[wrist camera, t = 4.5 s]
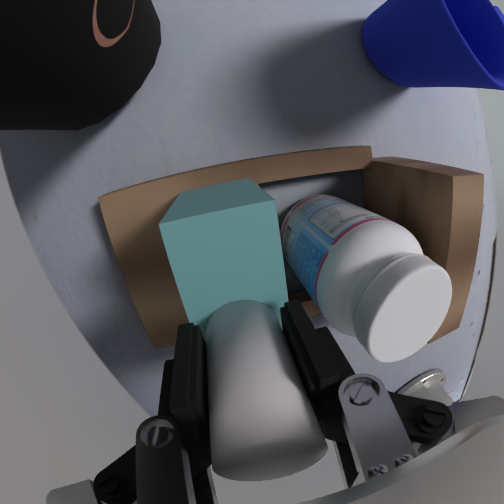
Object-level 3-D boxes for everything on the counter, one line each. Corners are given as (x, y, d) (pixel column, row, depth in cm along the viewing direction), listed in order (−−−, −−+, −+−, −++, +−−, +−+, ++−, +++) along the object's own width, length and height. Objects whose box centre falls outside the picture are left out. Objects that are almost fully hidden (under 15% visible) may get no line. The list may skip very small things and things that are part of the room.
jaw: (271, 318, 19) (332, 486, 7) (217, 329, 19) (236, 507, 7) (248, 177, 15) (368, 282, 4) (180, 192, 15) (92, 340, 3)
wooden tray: (392, 281, 22) (455, 338, 14) (156, 336, 21) (140, 426, 12) (391, 144, 18) (483, 155, 9) (106, 193, 16) (31, 234, 8)
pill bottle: (326, 282, 21) (403, 383, 11) (262, 249, 19) (317, 362, 9) (368, 218, 20) (477, 284, 9) (307, 175, 18) (419, 217, 7)
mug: (456, 65, 15) (534, 60, 6) (389, 113, 17) (494, 110, 7) (410, -4, 12) (480, -34, 3) (327, 25, 14) (407, -35, 4)
